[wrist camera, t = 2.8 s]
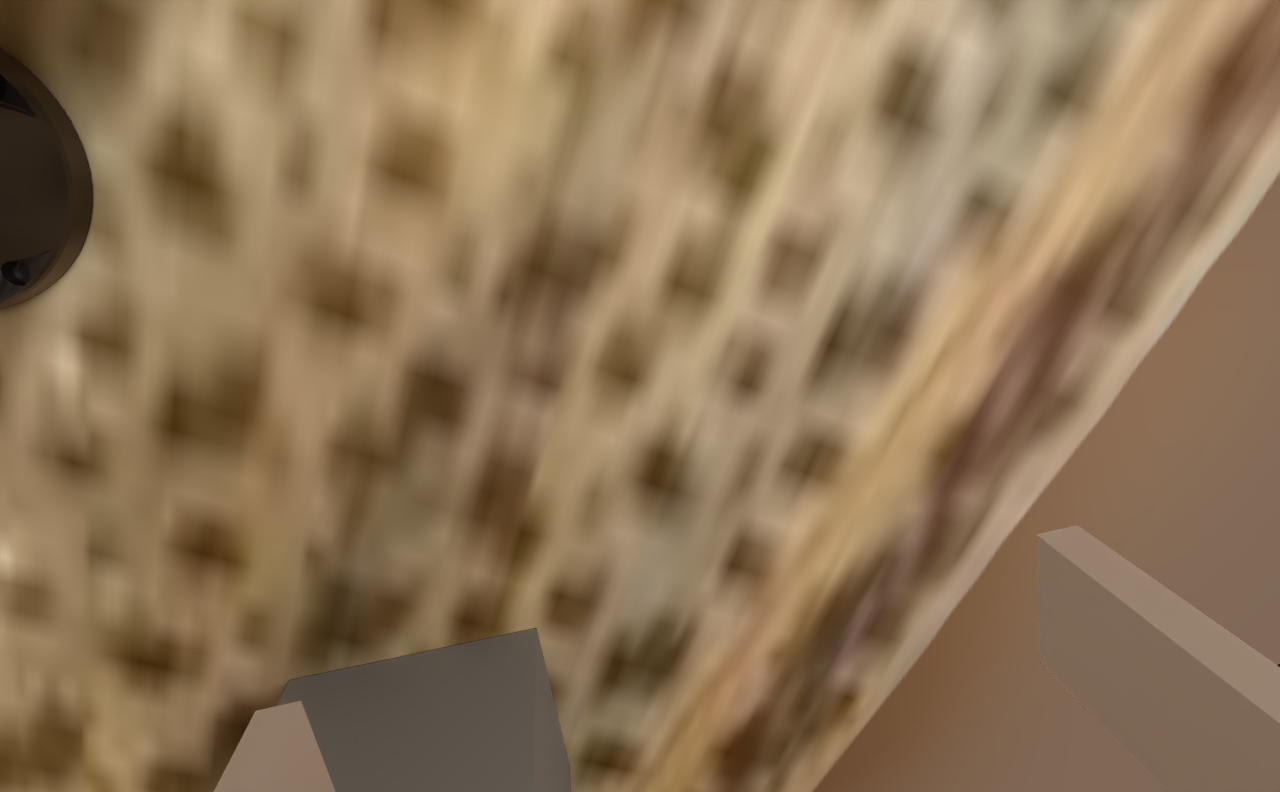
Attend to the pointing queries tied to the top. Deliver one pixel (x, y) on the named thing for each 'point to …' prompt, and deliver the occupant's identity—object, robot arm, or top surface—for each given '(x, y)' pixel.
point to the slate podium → (440, 720)
